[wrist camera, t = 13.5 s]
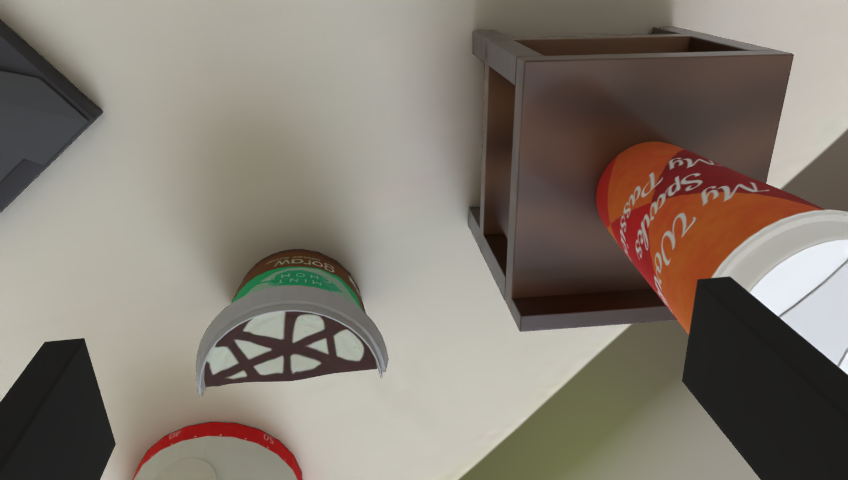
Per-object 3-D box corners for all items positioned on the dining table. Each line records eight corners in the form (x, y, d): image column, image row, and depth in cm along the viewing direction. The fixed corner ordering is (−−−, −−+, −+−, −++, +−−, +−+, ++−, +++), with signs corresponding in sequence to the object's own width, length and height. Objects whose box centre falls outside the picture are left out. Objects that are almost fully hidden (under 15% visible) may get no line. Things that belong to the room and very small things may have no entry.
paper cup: (636, 92, 33) (826, 183, 20) (742, 165, 35) (971, 287, 23) (546, 219, 35) (666, 372, 22) (651, 279, 37) (814, 449, 25)
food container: (375, 227, 48) (384, 292, 39) (380, 300, 51) (390, 377, 42) (203, 241, 47) (171, 311, 38) (217, 316, 49) (191, 398, 40)
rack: (472, 30, 43) (536, 67, 30) (673, 26, 45) (821, 59, 31) (468, 225, 49) (519, 332, 35) (646, 216, 51) (762, 314, 37)
